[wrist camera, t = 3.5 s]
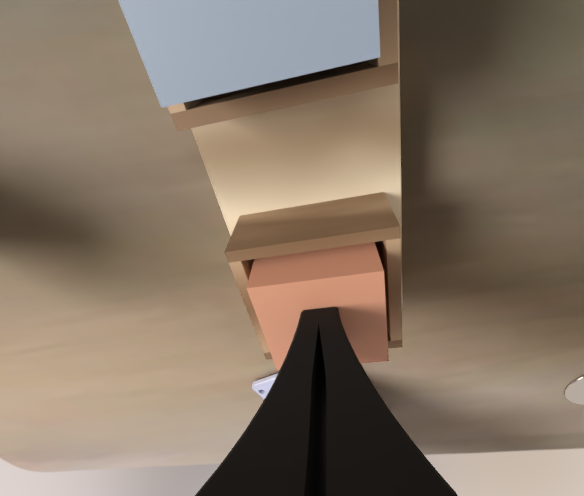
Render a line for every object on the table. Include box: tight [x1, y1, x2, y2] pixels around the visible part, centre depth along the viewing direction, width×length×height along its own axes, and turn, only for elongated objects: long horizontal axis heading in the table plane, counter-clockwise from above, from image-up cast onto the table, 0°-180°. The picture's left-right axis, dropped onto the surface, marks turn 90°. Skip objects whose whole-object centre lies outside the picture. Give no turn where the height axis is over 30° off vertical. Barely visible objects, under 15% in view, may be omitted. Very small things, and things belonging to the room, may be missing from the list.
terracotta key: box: [246, 242, 389, 370], centre depth 13 cm, size 5×5×3 cm
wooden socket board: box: [167, 0, 403, 359], centre depth 12 cm, size 19×8×5 cm, turn 12°
